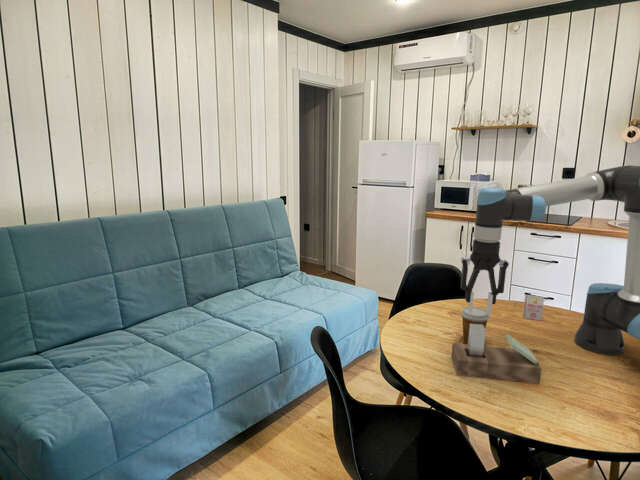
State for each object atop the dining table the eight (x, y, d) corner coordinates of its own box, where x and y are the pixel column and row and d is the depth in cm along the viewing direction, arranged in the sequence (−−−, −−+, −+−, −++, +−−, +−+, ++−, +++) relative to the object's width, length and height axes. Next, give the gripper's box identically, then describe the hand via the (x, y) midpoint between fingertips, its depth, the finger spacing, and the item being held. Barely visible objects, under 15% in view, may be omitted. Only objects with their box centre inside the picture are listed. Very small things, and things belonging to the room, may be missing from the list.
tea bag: (522, 315, 177) (525, 293, 175) (540, 318, 174) (543, 295, 172) (523, 318, 174) (526, 295, 172) (541, 321, 171) (544, 298, 169)
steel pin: (478, 364, 135) (483, 324, 132) (481, 371, 131) (485, 329, 128) (465, 363, 135) (469, 323, 132) (467, 369, 132) (472, 328, 129)
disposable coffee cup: (488, 349, 145) (492, 317, 143) (460, 346, 147) (463, 314, 145) (483, 337, 155) (487, 307, 152) (457, 335, 156) (460, 305, 154)
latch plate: (529, 353, 133) (531, 351, 133) (537, 365, 125) (539, 363, 125) (504, 335, 133) (506, 333, 133) (511, 347, 126) (513, 344, 125)
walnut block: (527, 364, 136) (529, 350, 135) (539, 383, 124) (541, 368, 123) (451, 356, 140) (452, 342, 139) (456, 375, 128) (458, 360, 127)
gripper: (515, 238, 126) (506, 310, 131) (454, 235, 129) (447, 306, 134) (522, 244, 119) (512, 319, 124) (457, 240, 122) (450, 314, 127)
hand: (479, 312), depth 129 cm, fingers open, 5 cm apart
